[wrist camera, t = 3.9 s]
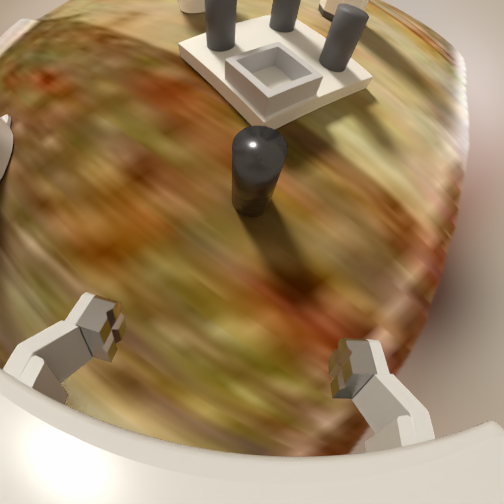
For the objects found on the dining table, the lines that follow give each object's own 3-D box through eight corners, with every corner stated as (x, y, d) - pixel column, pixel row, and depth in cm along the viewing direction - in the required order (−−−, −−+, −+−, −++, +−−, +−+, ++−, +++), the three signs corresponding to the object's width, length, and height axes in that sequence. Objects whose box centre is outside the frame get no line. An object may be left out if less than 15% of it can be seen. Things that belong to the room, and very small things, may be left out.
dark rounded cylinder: (228, 213, 25) (227, 165, 16) (235, 179, 26) (237, 121, 17) (266, 219, 25) (284, 174, 16) (271, 185, 26) (289, 130, 17)
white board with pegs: (261, 136, 27) (277, 52, 16) (180, 56, 29) (170, -11, 18) (366, 88, 30) (400, 29, 19) (282, 23, 32) (293, -32, 21)
